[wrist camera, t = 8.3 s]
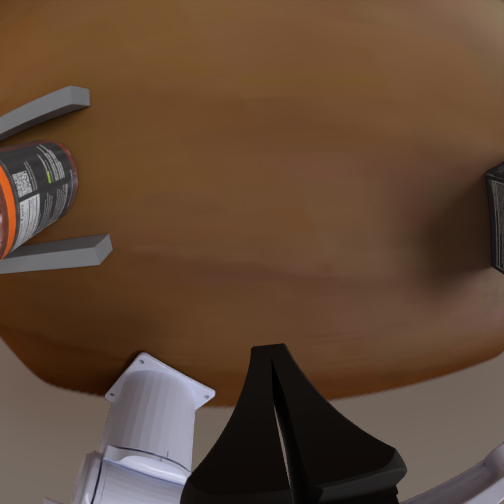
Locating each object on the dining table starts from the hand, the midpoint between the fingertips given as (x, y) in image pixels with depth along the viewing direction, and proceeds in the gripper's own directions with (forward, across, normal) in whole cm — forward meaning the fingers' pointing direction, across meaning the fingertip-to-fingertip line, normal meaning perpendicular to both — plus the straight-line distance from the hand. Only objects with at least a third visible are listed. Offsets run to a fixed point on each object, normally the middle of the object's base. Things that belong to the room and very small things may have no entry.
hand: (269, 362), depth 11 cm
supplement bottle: (+10, +14, -8) cm, 19 cm away
